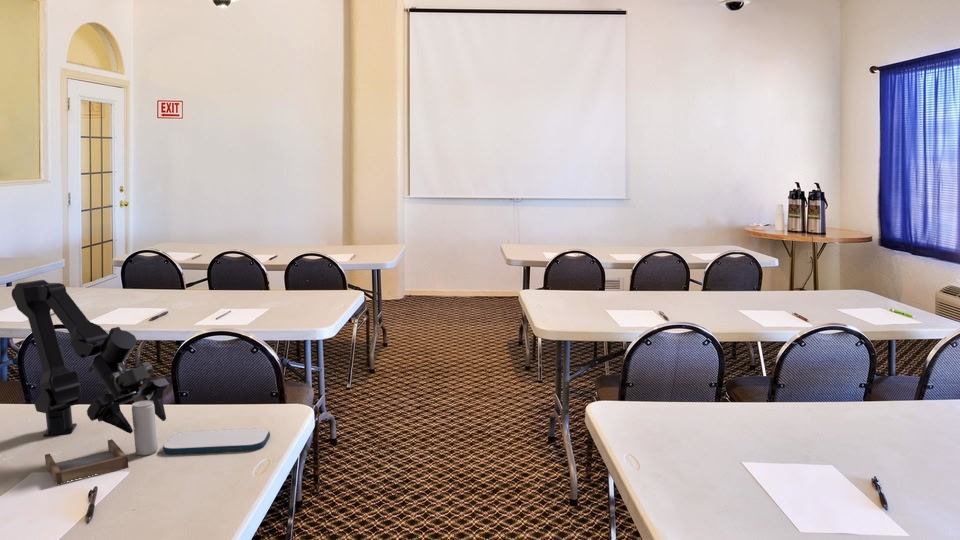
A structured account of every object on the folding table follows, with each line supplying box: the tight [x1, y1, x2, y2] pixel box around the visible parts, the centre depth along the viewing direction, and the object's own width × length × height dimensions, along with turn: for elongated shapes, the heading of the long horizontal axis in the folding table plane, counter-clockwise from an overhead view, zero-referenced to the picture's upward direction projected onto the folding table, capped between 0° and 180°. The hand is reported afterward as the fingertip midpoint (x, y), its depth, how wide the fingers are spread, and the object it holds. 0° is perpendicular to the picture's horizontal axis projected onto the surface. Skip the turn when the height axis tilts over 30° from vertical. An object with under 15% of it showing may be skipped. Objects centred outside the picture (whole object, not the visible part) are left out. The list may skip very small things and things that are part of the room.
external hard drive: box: [162, 427, 271, 456], centre depth 175 cm, size 24×12×2 cm, turn 94°
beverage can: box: [131, 399, 159, 457], centre depth 170 cm, size 5×5×12 cm
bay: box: [44, 439, 129, 485], centre depth 163 cm, size 14×14×2 cm
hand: (148, 426), depth 170 cm, fingers open, 9 cm apart
